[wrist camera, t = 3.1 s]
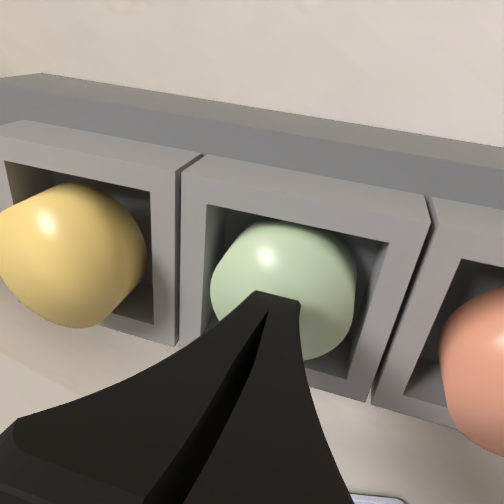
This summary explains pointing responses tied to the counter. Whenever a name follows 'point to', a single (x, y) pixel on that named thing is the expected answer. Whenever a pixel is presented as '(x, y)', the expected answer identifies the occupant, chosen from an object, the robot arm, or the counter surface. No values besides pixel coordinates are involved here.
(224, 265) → the sage button
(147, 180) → the button panel
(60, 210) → the yellow rounded piece
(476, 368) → the salmon pink button
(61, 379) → the counter surface
